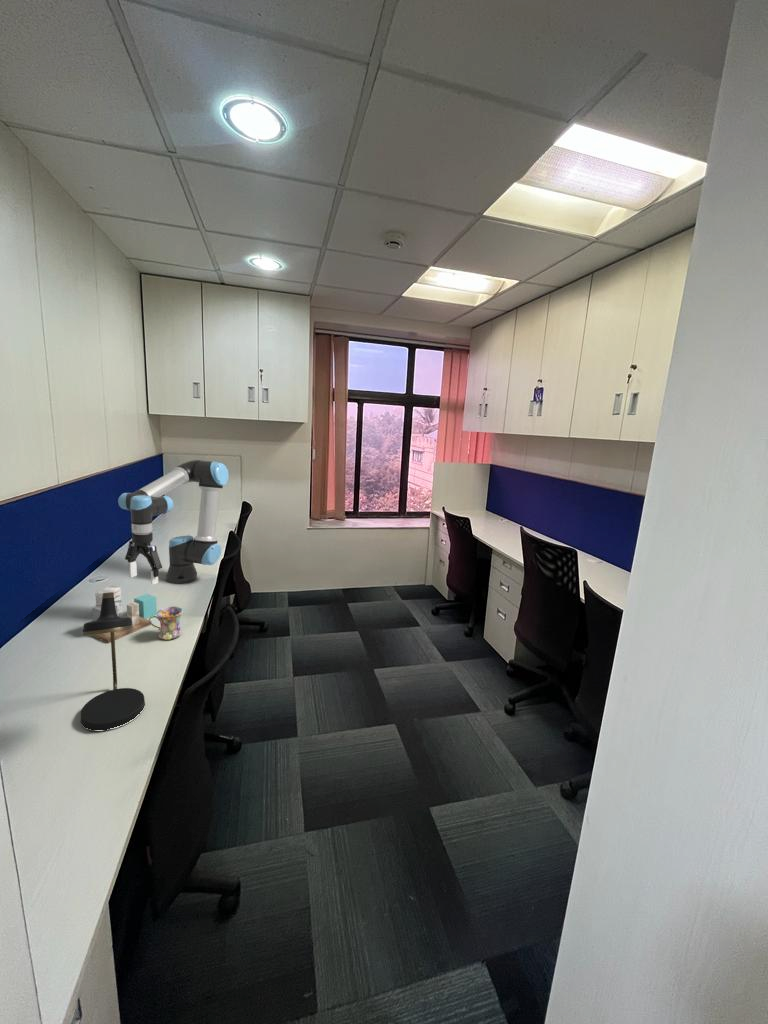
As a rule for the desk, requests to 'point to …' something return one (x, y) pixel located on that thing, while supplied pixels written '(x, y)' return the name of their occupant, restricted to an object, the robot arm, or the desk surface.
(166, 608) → the mug
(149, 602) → the teal foam cube
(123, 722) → the lamp
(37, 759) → the desk surface
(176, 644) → the desk surface
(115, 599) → the ink box
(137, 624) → the stand
